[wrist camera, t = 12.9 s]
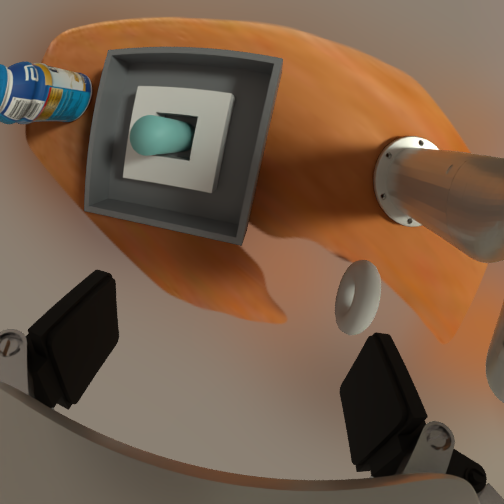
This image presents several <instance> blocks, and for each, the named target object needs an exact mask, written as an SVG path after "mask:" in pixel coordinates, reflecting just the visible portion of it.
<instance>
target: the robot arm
mask: <svg viewBox="0 0 504 504" xmlns="http://www.w3.org/2000/svg"><path fill="white" fill-rule="evenodd" d="M418 142H419V143H418ZM386 154H388V157H386ZM373 183H374V191H375V195H376V198H377V201H378V203H379V205H380V207H381V208H382V209H383V211H384V212H385V213H386V214H387V215H388V216H389V217H390V218H391V219H393V220H394V221H395V222H397V223H399V224H401V225H404V226H408V227H418V226H422V225H423V226H425V227H426V228H428V229H429V230H431V231H432V232H434V233H435V234H437V235H438V236H440V237H441V238H443V239H444V240H446V241H447V242H449V243H450V244H452V245H453V246H455V247H456V248H458V249H459V250H460V251H462V252H463V253H465V254H466V255H468V256H469V257H471V258H473V259H474V260H477V261H479V262H484V263H494V262H499V261H503V260H504V158H498V157H491V156H486V155H478V154H471V153H464V152H456V151H447V150H439V149H438V148H437V147H436V146H435V145H434V144H433V143H431V142H430V141H428V140H426V139H424V138H421V137H416V136H407V137H401V138H399V139H396V140H394V141H393V142H391V143H390V144H388V145H387V146H386V148H385V149H384V150H383V151H382V153H381V154H380V156H379V158H378V160H377V163H376V165H375V170H374V180H373ZM381 194H383V196H382V197H381ZM407 220H408V221H407ZM28 332H29V334H28V335H27V336H26V337H25V335H24V334H23V333H22V332H20V331H18V330H14V329H8V330H3V331H1V332H0V504H504V499H503V498H502V497H501V496H500V495H499V494H498V493H497V492H496V490H495V489H494V488H493V487H492V486H491V485H490V484H489V483H488V484H486V480H487V479H486V473H485V471H484V469H483V468H482V466H480V465H479V464H478V463H476V462H474V461H473V460H471V459H469V458H468V457H466V456H465V455H463V454H461V453H459V452H458V451H457V450H455V449H453V448H454V442H455V440H454V436H453V434H452V432H451V430H450V429H449V428H448V427H447V426H446V425H445V424H443V423H441V422H436V421H432V422H429V423H427V424H426V423H425V419H426V418H427V414H426V411H425V409H424V406H423V404H422V402H421V399H420V397H419V395H418V392H417V390H416V388H415V386H414V383H413V381H412V379H411V377H410V375H409V373H408V370H407V368H406V366H405V364H404V362H403V360H402V358H401V356H400V354H399V352H398V350H397V348H396V346H395V344H394V342H393V340H392V338H391V336H390V335H388V334H382V333H374V334H373V335H372V336H369V337H368V339H367V341H366V342H365V344H364V346H363V348H362V350H361V352H360V353H359V355H358V357H357V359H356V361H355V362H354V364H353V366H352V367H351V369H350V371H349V373H348V374H347V376H346V378H345V379H344V381H343V383H342V385H341V387H340V397H341V402H342V407H343V412H344V418H345V423H346V429H347V435H348V441H349V447H350V453H351V460H352V463H353V464H354V465H356V470H357V472H362V471H370V470H371V477H370V478H364V479H348V480H289V479H275V478H265V477H256V476H247V475H240V474H234V473H228V472H223V471H217V470H213V469H207V468H203V467H199V466H194V465H190V464H186V463H182V462H179V461H175V460H172V459H168V458H165V457H162V456H158V455H155V454H152V453H149V452H146V451H143V450H140V449H137V448H134V447H132V446H129V445H127V444H124V443H122V442H119V441H116V440H114V439H112V438H110V437H107V436H105V435H103V434H100V433H98V432H96V431H94V430H92V429H90V428H87V427H85V426H83V425H81V424H79V423H77V422H75V421H73V420H71V419H69V418H68V417H66V416H64V415H62V414H60V413H58V412H56V411H55V410H54V407H55V405H56V404H59V405H61V406H63V407H65V408H66V409H69V408H70V407H71V405H72V404H76V403H77V402H78V401H79V399H80V398H81V396H82V395H83V393H84V392H85V390H86V389H87V387H88V385H89V384H90V382H91V381H92V379H93V378H94V376H95V375H96V373H97V372H98V370H99V369H100V367H101V366H102V365H103V363H104V362H105V360H106V359H107V357H108V356H109V354H110V353H111V351H112V350H113V349H114V347H115V346H116V344H117V342H118V339H119V330H118V319H117V304H116V283H115V280H114V279H113V278H112V275H111V274H110V273H107V272H104V271H100V270H95V271H94V272H93V273H91V274H90V275H89V276H88V277H87V278H85V279H84V280H83V281H82V282H81V283H79V284H78V285H77V286H76V287H75V288H73V289H72V290H71V291H70V292H69V293H68V294H66V295H65V296H64V297H63V298H62V299H61V300H60V301H59V302H57V303H56V304H55V305H54V306H53V307H52V308H51V309H49V310H48V311H47V312H46V313H45V314H44V315H43V316H42V317H41V318H40V319H39V320H37V321H36V323H34V324H33V325H32V326H31V327H30V328H29V329H28ZM486 376H487V380H488V383H489V386H490V388H491V390H492V391H493V393H494V394H495V395H496V397H497V398H498V399H499V400H501V401H502V402H503V403H504V302H503V305H502V308H501V312H500V316H499V318H498V321H497V325H496V328H495V330H494V334H493V337H492V340H491V343H490V346H489V350H488V354H487V359H486Z"/></svg>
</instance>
